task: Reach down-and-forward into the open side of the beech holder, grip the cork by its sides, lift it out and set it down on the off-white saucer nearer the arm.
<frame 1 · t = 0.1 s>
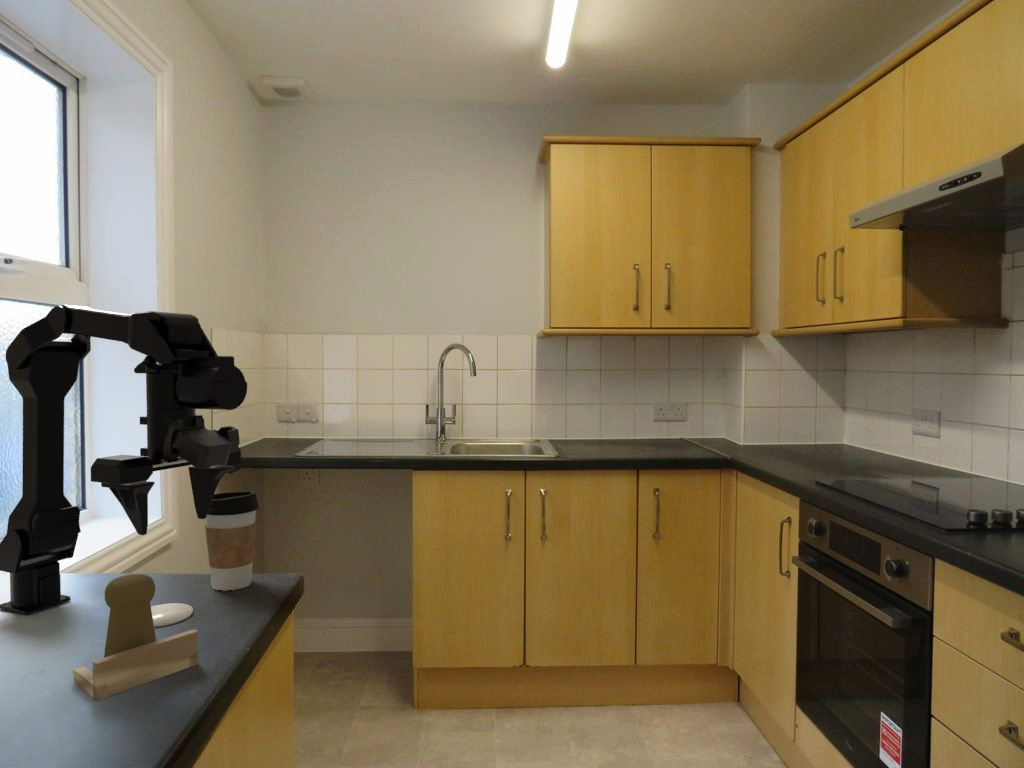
hand: (173, 526, 87), 15 cm above the countertop, tool pointing down, fingers open, 9 cm apart
coffee cup: (231, 586, 107), on the countertop
saucer: (161, 616, 94), on the countertop
cork: (131, 670, 78), resting in holder
holder: (131, 668, 78), on the countertop
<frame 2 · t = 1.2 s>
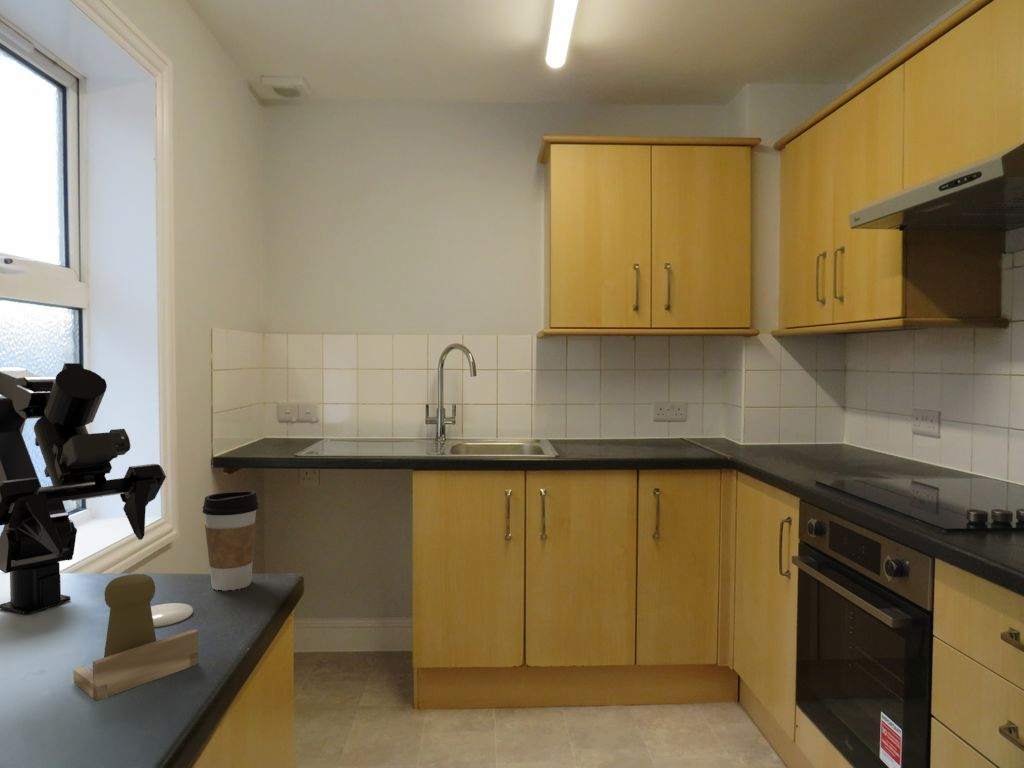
hand: (102, 545, 82), 13 cm above the countertop, tool tilted 45°, fingers open, 9 cm apart
nothing on the countertop moved.
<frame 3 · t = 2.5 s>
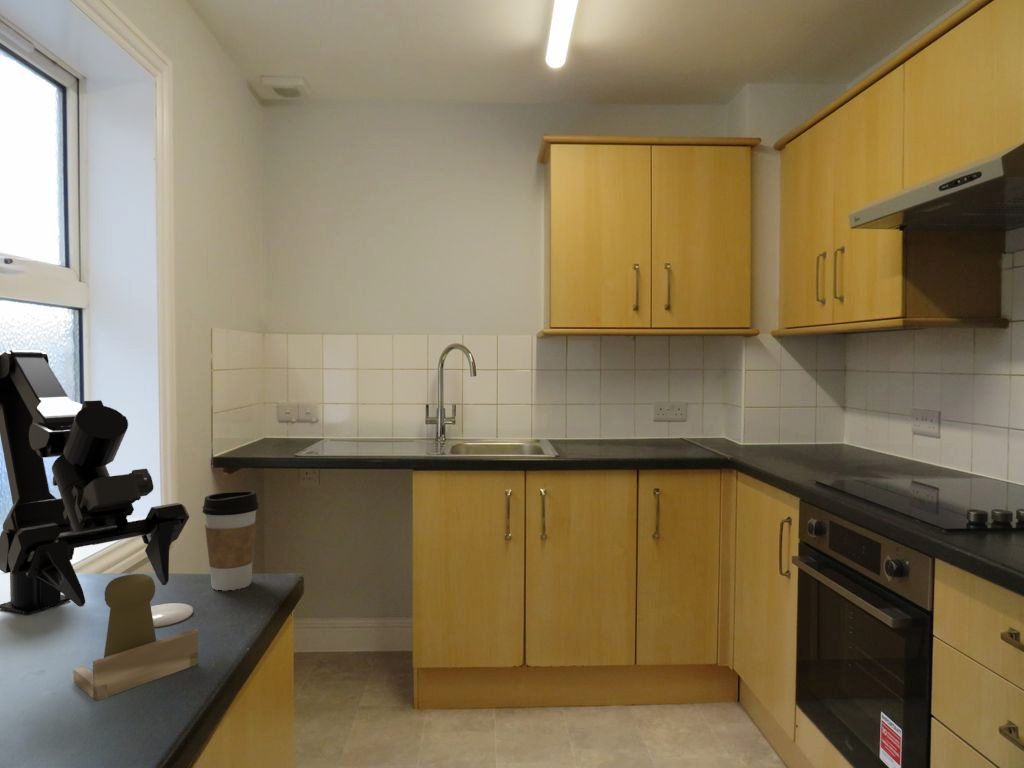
hand: (126, 593, 79), 9 cm above the countertop, tool tilted 45°, fingers open, 9 cm apart
nothing on the countertop moved.
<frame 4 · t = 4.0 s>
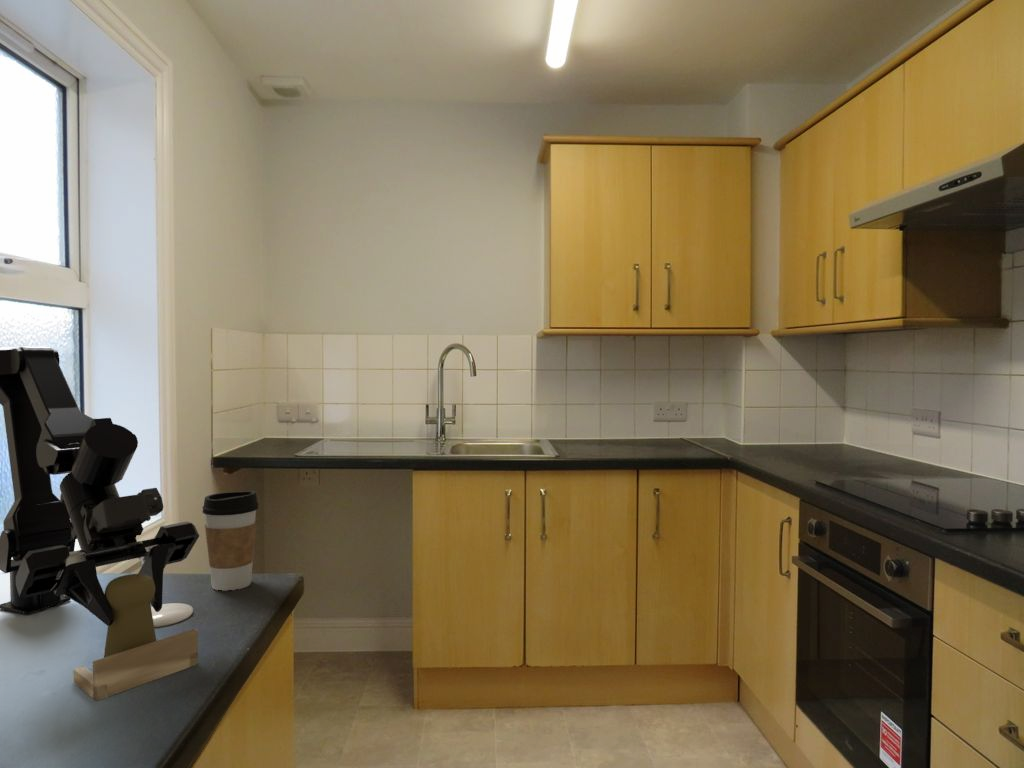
hand: (135, 616, 77), 7 cm above the countertop, tool tilted 45°, fingers closed on cork, 5 cm apart
cork: (131, 670, 78), resting in holder, touching gripper
everything else where it was.
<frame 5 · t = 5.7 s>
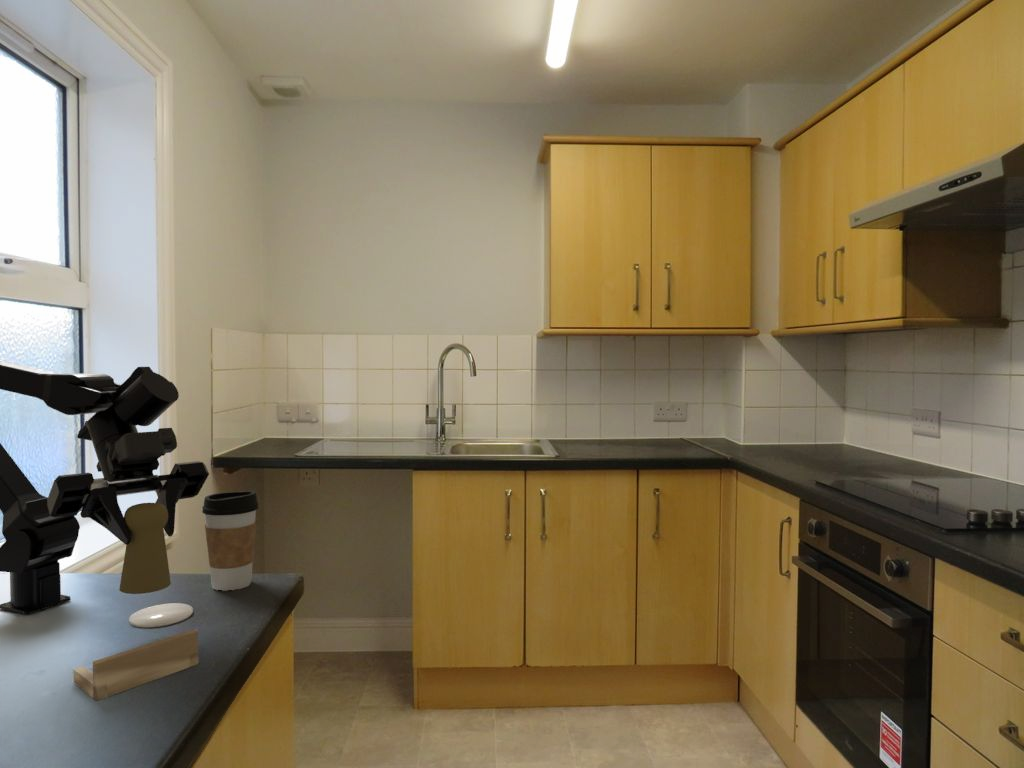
hand: (150, 538, 87), 13 cm above the countertop, tool tilted 45°, fingers closed on cork, 5 cm apart
cork: (145, 587, 88), point 6 cm above the countertop, touching gripper
everything else where it was.
when the fingers open (8 cm above the countertop, at t = 7.5 s): cork stays where it is, resting on saucer.
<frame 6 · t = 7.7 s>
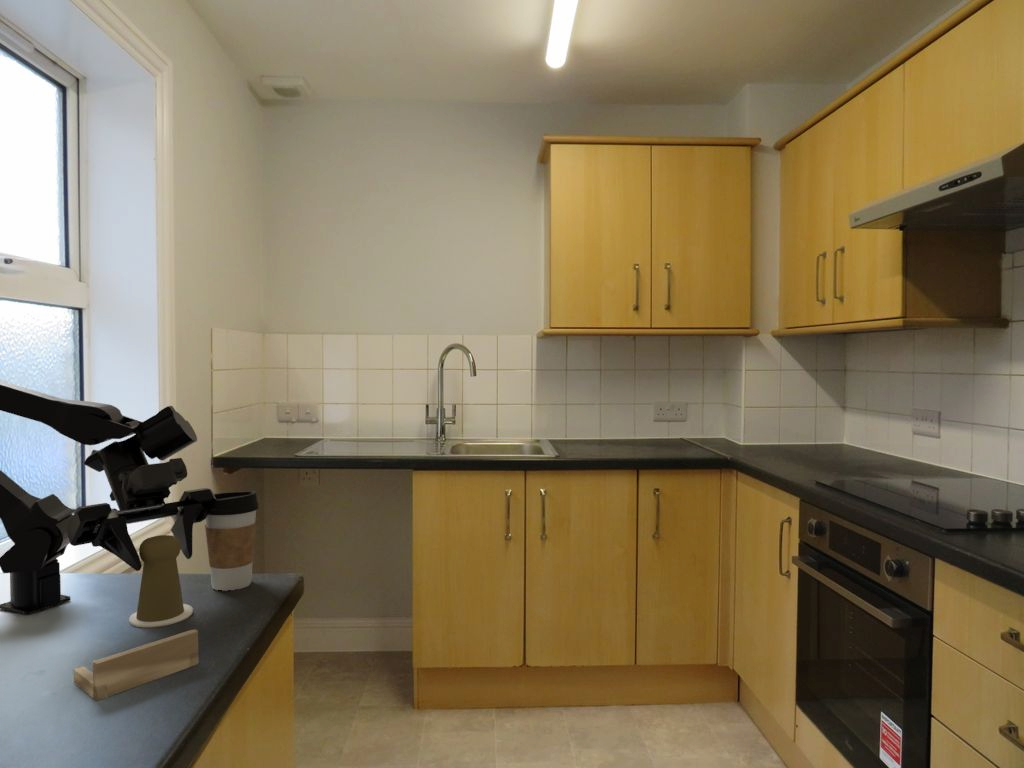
hand: (165, 563, 93), 8 cm above the countertop, tool tilted 45°, fingers open, 7 cm apart
cork: (160, 614, 94), resting on saucer
everything else where it was.
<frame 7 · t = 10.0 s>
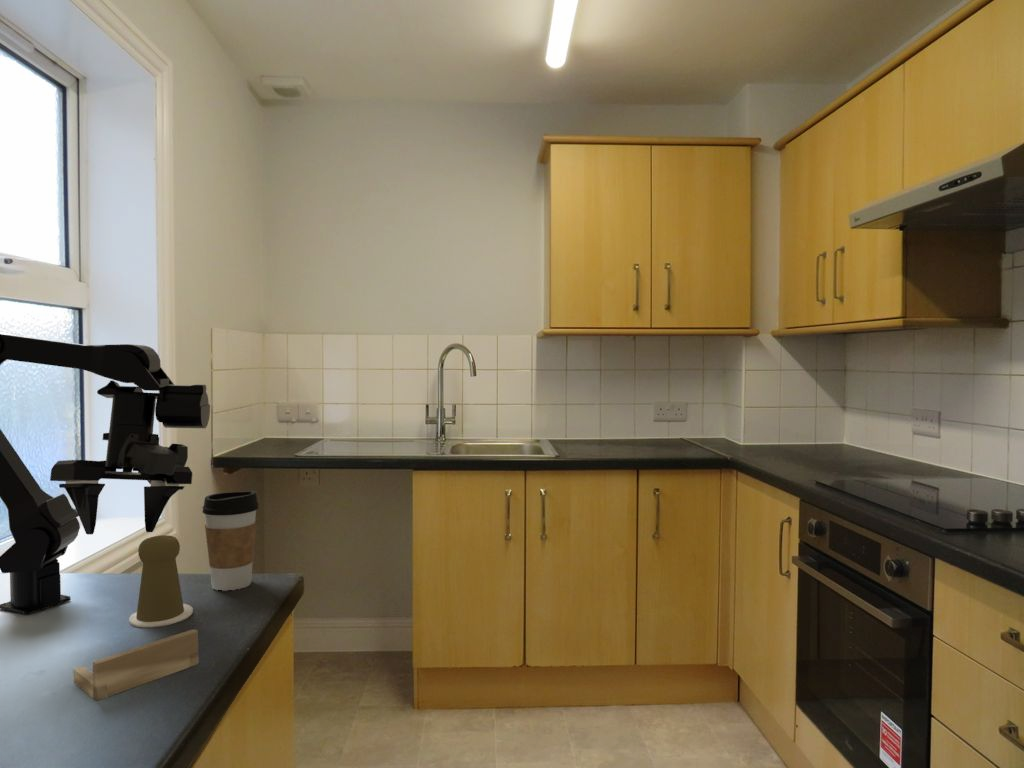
hand: (120, 533, 97), 11 cm above the countertop, tool pointing down, fingers open, 9 cm apart
nothing on the countertop moved.
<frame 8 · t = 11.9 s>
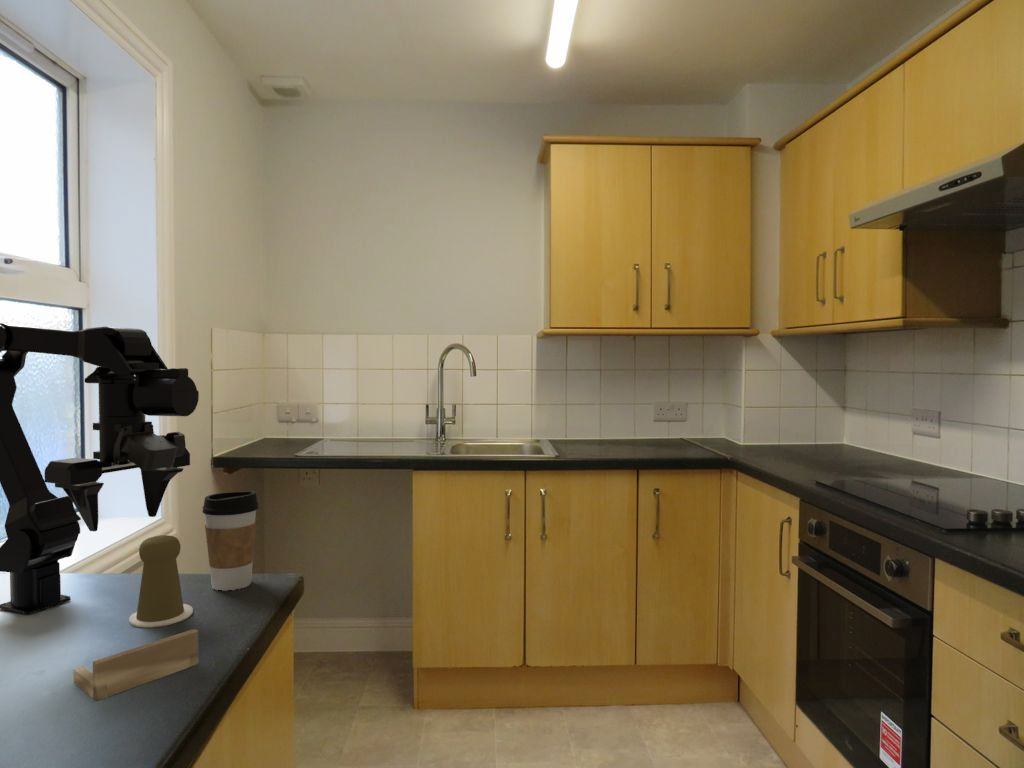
hand: (124, 523, 95), 13 cm above the countertop, tool pointing down, fingers open, 9 cm apart
nothing on the countertop moved.
at the end: cork 0.1 cm from the saucer (horizontally); cork tilted 0°; the gripper is holding nothing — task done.
